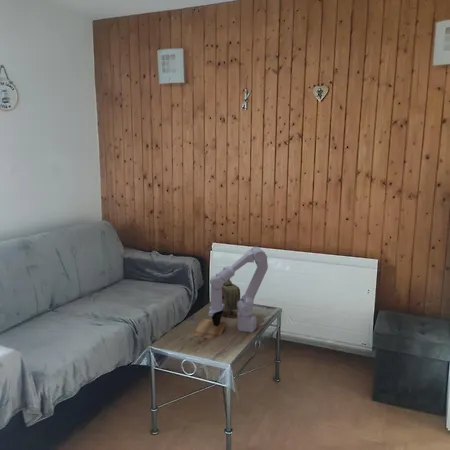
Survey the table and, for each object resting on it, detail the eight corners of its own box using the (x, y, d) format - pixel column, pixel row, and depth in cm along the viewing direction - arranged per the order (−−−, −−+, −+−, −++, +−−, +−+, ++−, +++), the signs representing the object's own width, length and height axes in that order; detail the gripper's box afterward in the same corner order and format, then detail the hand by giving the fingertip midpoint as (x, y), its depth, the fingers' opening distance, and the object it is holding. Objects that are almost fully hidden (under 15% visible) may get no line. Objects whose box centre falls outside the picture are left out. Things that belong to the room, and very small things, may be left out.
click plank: (226, 323, 223) (225, 322, 222) (220, 336, 218) (220, 335, 217) (202, 319, 229) (201, 318, 228) (196, 332, 223) (195, 330, 223)
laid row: (220, 337, 217) (220, 335, 217) (215, 341, 212) (215, 339, 212) (195, 333, 223) (195, 331, 222) (190, 336, 218) (190, 334, 218)
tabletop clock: (216, 311, 253) (215, 270, 249) (230, 309, 257) (229, 268, 253) (226, 320, 240) (226, 276, 236) (241, 317, 244) (241, 274, 240)
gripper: (215, 294, 228) (215, 319, 230) (202, 302, 215) (203, 329, 217) (227, 296, 225) (227, 321, 227) (215, 304, 212) (216, 331, 214)
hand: (216, 325), depth 222 cm, fingers closed
